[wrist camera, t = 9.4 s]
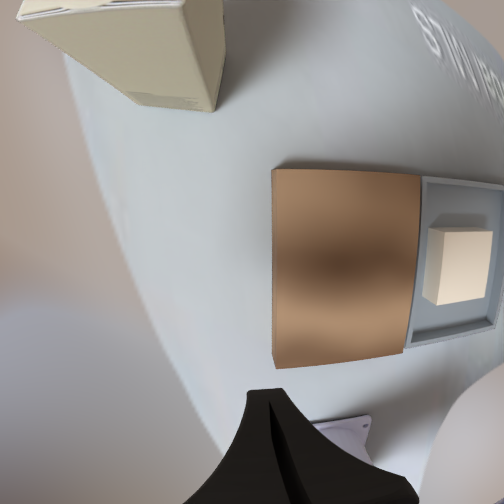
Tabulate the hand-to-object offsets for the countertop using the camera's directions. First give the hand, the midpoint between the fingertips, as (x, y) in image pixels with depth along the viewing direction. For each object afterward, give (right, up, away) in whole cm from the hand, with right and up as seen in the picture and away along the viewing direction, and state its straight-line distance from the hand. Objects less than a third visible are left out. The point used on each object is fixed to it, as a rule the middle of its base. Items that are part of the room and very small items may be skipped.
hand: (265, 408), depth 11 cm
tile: (+14, +5, +9) cm, 18 cm away
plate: (+5, +5, +9) cm, 12 cm away
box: (-5, +17, +6) cm, 18 cm away
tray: (+15, +5, +10) cm, 19 cm away
